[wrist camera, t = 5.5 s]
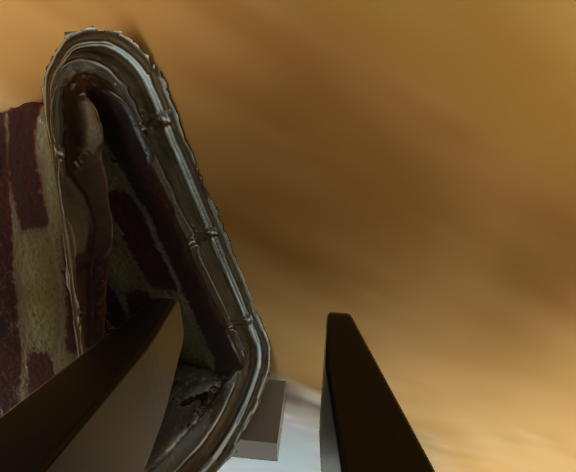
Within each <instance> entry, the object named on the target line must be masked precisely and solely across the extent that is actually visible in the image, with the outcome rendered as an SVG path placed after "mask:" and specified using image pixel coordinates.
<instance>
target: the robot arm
mask: <svg viewBox="0 0 576 472" xmlns="http://www.w3.org/2000/svg"><path fill="white" fill-rule="evenodd" d="M183 338H184V329H183V323H182V316H181V310H180V304H179V302H178V301H177V300H176V299H169V298H156V299H154V300H152V301H151V302H150V303H148V304H147V305H146V306H144V307H143V308H142V309H141V310H139V311H138V312H137V313H135V314H134V315H133V316H131V317H130V318H129V319H127V320H126V321H125V322H124V323H122V324H121V325H120V326H118V327H117V328H116V329H114V330H113V331H112V332H111V333H109V334H108V335H107V336H105V337H104V338H103V339H101V340H100V341H99V342H97V343H96V344H95V345H94V346H92V347H91V348H90V349H88V350H87V351H86V352H84V353H83V354H82V355H81V356H79V357H78V358H77V359H75V360H74V361H73V362H71V363H70V364H69V365H68V366H66V367H65V368H64V369H62V370H61V371H60V372H58V373H57V374H56V375H54V376H53V377H52V378H51V379H49V380H48V381H47V382H45V383H44V384H43V385H41V386H40V387H39V388H38V389H36V390H35V391H34V392H32V393H31V394H30V395H28V396H27V397H26V398H24V399H23V400H22V401H21V402H19V403H18V404H17V405H15V406H14V407H13V408H11V409H10V410H9V411H8V412H6V413H5V414H4V415H2V416H1V417H0V472H143V471H144V469H145V466H146V464H147V461H148V458H149V456H150V453H151V450H152V448H153V445H154V442H155V440H156V437H157V434H158V432H159V429H160V426H161V423H162V420H163V418H164V414H165V411H166V407H167V403H168V399H169V395H170V391H171V387H172V383H173V379H174V375H175V371H176V367H177V364H178V360H179V356H180V352H181V348H182V344H183ZM319 434H320V458H321V472H435V470H434V469H433V467H432V465H431V463H430V461H429V459H428V457H427V456H426V454H425V452H424V450H423V448H422V446H421V444H420V443H419V441H418V439H417V437H416V435H415V433H414V431H413V430H412V428H411V426H410V424H409V422H408V420H407V418H406V417H405V415H404V413H403V411H402V409H401V407H400V405H399V404H398V402H397V400H396V398H395V396H394V394H393V392H392V391H391V389H390V387H389V385H388V383H387V381H386V379H385V378H384V376H383V374H382V372H381V370H380V368H379V366H378V365H377V363H376V361H375V359H374V357H373V355H372V353H371V352H370V350H369V348H368V346H367V344H366V342H365V340H364V339H363V337H362V335H361V333H360V331H359V329H358V327H357V326H356V324H355V322H354V320H353V318H352V317H351V315H349V314H347V313H335V312H330V313H328V315H327V324H326V337H325V350H324V365H323V380H322V395H321V410H320V431H319Z"/></svg>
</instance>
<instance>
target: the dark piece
mask: <svg viewBox="0 0 576 472" xmlns="http://www.w3.org/2000/svg"><path fill="white" fill-rule="evenodd" d="M154 69H155V66H154V65H153V67H152V66H151V64H150V61H149V55H146V54H144V53H143V52H142V51H141V50H140V48H139V46H138V44H136V43H134V42H133V40H132V39H130V38H129V37H126V36H123V35H122V31H108V29H107V28H106V29H105V30H104V31H98V30H97V29H96V28H94V27H93V26H91V27H88V28H86V29H84V30H80V31H76V32H65V38H64V41H63V43H62V44H61V46H60V47H59V48H57V49H56V50H55V55H54V56H52V58H51V61H50V63H49V64H48V66H47V67H46V75H45V78H44V87H41V91H42V97H43V104H42V103H38V102H30V103H25V104H23V105H21V106H20V107H17V108H9V109H8V110H7V112H5V113H0V417H1V416H2V415H4V414H5V413H6V412H8V411H9V410H10V409H11V408H13V407H14V406H15V405H17V404H18V403H19V402H21V401H22V400H23V399H24V398H26V397H27V396H28V395H30V394H31V393H32V392H34V391H35V390H36V389H38V388H39V387H40V386H41V385H43V384H44V383H45V382H47V381H48V380H49V379H51V378H52V377H53V376H54V375H56V374H57V373H58V372H60V371H61V370H62V369H64V368H65V367H66V366H68V365H69V364H70V363H71V362H73V361H74V360H75V359H77V358H78V357H79V356H81V355H82V354H83V353H84V352H86V351H87V350H88V349H90V348H91V347H92V346H94V345H95V344H96V343H97V342H99V341H100V340H101V339H103V338H104V335H105V330H104V323H105V318H107V319H108V320H109V321H110V322H111V323H112V324H113V325H114V326H115V327H116V328H117V327H118V326H120V325H121V324H122V323H124V322H125V321H126V320H127V319H129V318H130V317H131V316H133V315H134V314H135V313H137V312H138V311H139V310H141V309H142V308H143V307H144V306H146V305H147V304H148V303H150V302H151V301H152V300H154V299H156V298H169V299H176V300H177V301H178V302H179V304H180V310H181V316H182V323H183V329H184V338H183V344H182V348H181V352H180V356H179V360H178V364H177V367H176V371H175V375H174V379H173V383H172V387H171V391H170V395H169V399H168V403H167V407H166V411H165V414H164V418H163V420H162V423H161V426H160V429H159V432H158V434H157V437H156V440H155V442H154V445H153V448H152V450H151V453H150V456H149V458H148V461H147V464H146V466H145V469H144V471H143V472H217V471H218V470H219V469H220V467H221V466H222V465H223V464H224V463H225V462H226V461H227V460H229V459H230V458H231V457H232V456H233V455H234V454H235V453H237V452H238V451H237V450H236V448H235V446H236V445H235V443H238V442H239V441H240V438H239V436H240V435H241V433H242V432H243V430H246V428H247V426H248V423H249V421H250V419H251V417H252V415H253V414H254V412H255V411H256V409H257V408H258V406H259V405H260V403H261V402H260V397H261V395H262V392H263V390H264V388H265V383H267V377H268V376H269V374H270V373H269V371H270V369H271V367H270V365H271V363H270V356H271V354H270V353H269V352H270V350H271V347H270V342H269V340H268V337H267V332H265V329H264V326H263V323H262V321H261V318H260V317H259V315H257V314H256V311H254V307H253V305H252V303H253V299H252V297H251V295H250V293H249V290H248V288H247V285H246V282H245V279H244V277H243V275H242V273H241V271H240V269H239V266H238V264H237V261H236V257H235V256H233V253H232V250H231V247H232V246H231V245H230V243H229V242H230V240H229V239H228V237H227V235H226V232H224V231H223V229H222V228H223V224H222V223H221V221H220V220H219V218H218V217H217V215H219V211H218V209H217V207H215V204H214V202H213V201H212V200H211V199H210V198H209V196H208V194H207V192H206V190H205V189H204V187H203V186H202V177H200V176H199V175H198V168H195V167H194V166H195V160H194V157H193V154H192V152H191V150H190V148H189V146H188V145H187V143H186V142H185V140H184V135H183V132H182V129H181V127H180V124H179V117H178V115H177V112H176V111H175V109H174V107H173V104H172V102H171V100H170V98H169V93H168V91H167V90H166V88H168V86H167V83H166V81H165V80H164V79H163V78H161V74H160V71H154Z"/></svg>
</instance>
